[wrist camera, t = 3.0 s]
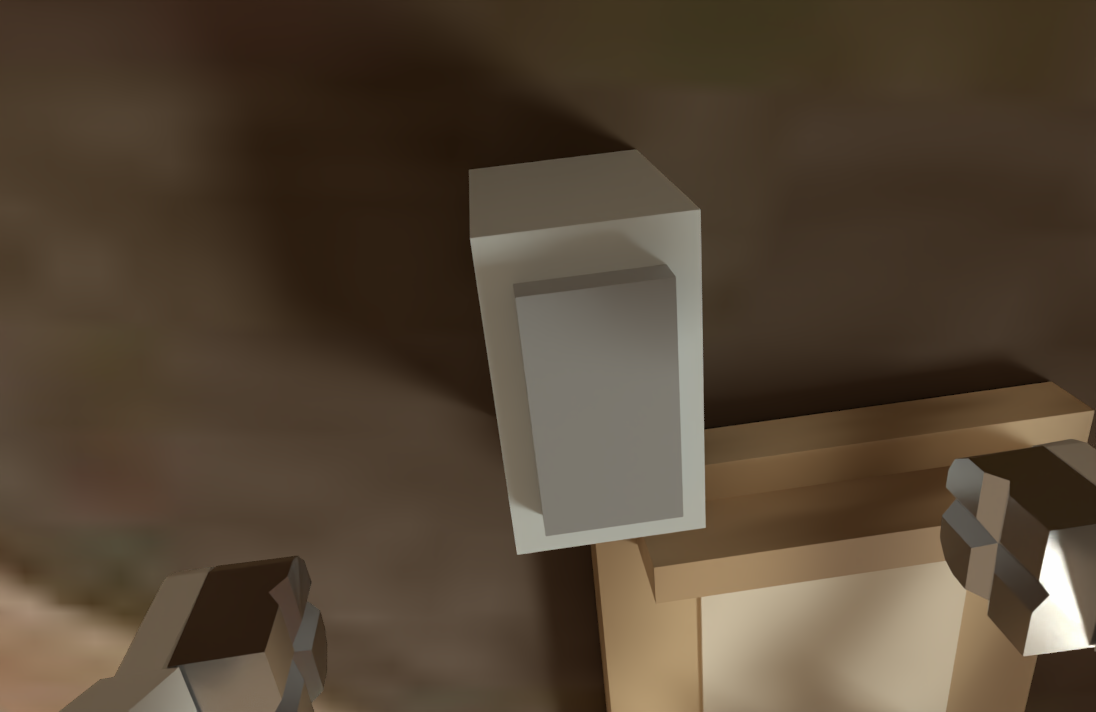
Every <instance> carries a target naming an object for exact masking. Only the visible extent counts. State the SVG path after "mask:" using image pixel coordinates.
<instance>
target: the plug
mask: <svg viewBox="0 0 1096 712" xmlns="http://www.w3.org/2000/svg"><path fill="white" fill-rule="evenodd" d="M469 210H470V242H471V249H472V256H473V262H474V269H475V276H476V282H477V289H478V296H479V302H480V309H481V316H482V323H483V329H484V336H485V343H486V349H487V356H488V363H489V369H490V376H491V383H492V389H493V396H494V403H495V409H496V416H497V423H498V429H499V436H500V443H501V449H502V456H503V463H504V470H505V476H506V483H507V490H508V496H509V503H510V510H511V516H512V523H513V530H514V536H515V543H516V550H517V555H519V554H526V553H533V552H540V551H547V550H554V549H561V548H568V547H575V546H582V545H589V544H596V543H603V542H610V541H617V540H624V539H631V538H638V537H645V536H652V535H659V534H666V533H673V532H680V531H687V530H694V529H701V528H706V515H705V454H704V393H703V331H702V270H701V209H700V208H699V207H698V206H696V205H695V204H694V203H693V202H692V201H691V200H690V199H689V198H688V197H687V196H686V195H685V194H684V193H682V192H681V191H680V190H679V189H678V188H677V187H676V186H675V185H674V184H673V183H672V182H671V181H670V180H669V179H667V178H666V177H665V176H664V175H663V174H662V173H661V172H660V171H659V170H658V169H657V168H656V167H655V166H654V165H652V164H651V163H650V162H649V161H648V160H647V159H646V158H645V157H644V156H643V155H642V154H641V153H640V152H638V151H637V150H636V149H634V150H626V151H618V152H610V153H601V154H593V155H585V156H577V157H569V158H561V159H552V160H544V161H536V162H528V163H520V164H511V165H503V166H495V167H487V168H479V169H471V170H469Z"/></svg>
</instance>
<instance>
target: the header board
mask: <svg viewBox="0 0 1096 712" xmlns="http://www.w3.org/2000/svg"><path fill="white" fill-rule="evenodd" d="M1094 411H1095V410H1093V409H1092V408H1090V407H1089V406H1087V405H1086V404H1084V403H1083V402H1081V401H1080V400H1078V399H1077V398H1075V397H1074V396H1072V395H1071V394H1069V393H1068V392H1066V391H1065V390H1063V389H1062V388H1060V387H1059V386H1057V385H1056V384H1054V383H1053V382H1044V383H1037V384H1030V385H1022V386H1015V387H1008V388H1001V389H994V390H986V391H979V392H972V393H965V394H957V395H950V396H943V397H936V398H929V399H921V400H914V401H907V402H900V403H893V404H885V405H878V406H871V407H864V408H856V409H849V410H842V411H835V412H828V413H820V414H813V415H806V416H799V417H792V418H784V419H777V420H770V421H763V422H756V423H748V424H741V425H734V426H727V427H719V428H712V429H705V430H704V454H705V515H706V528H701V529H694V530H687V531H680V532H673V533H666V534H659V535H652V536H645V537H638V538H631V539H624V540H617V541H610V542H603V543H596V544H591V554H592V565H593V575H594V585H595V596H596V606H597V616H598V626H599V637H600V647H601V657H602V668H603V678H604V688H605V698H606V709H607V712H1024V711H1025V707H1026V703H1027V698H1028V694H1029V690H1030V686H1031V681H1032V677H1033V673H1034V668H1035V664H1036V660H1037V656H1038V655H1031V656H1022V655H1021V654H1020V653H1019V651H1018V650H1017V649H1016V648H1015V647H1014V646H1013V644H1012V643H1011V642H1010V641H1009V640H1008V639H1007V638H1006V636H1005V635H1004V634H1003V633H1002V632H1001V631H1000V629H999V628H998V627H997V626H996V625H995V624H994V623H993V621H992V620H991V619H990V618H989V617H988V616H987V611H988V600H987V599H985V598H982V597H980V596H978V595H976V594H974V593H972V592H970V591H968V590H966V589H964V587H963V586H962V585H961V584H960V583H959V581H958V580H957V579H956V578H955V576H954V575H953V574H952V572H951V570H950V568H949V566H948V564H947V562H946V560H945V558H944V554H943V549H942V545H941V541H940V530H941V519H942V515H943V514H944V513H945V511H946V510H947V509H948V508H949V507H950V505H951V504H952V503H953V502H954V501H955V498H954V497H953V496H952V494H951V493H950V492H949V490H948V489H947V488H946V482H947V476H948V470H949V468H950V467H951V465H952V463H953V461H954V460H955V459H958V458H965V457H971V456H978V455H984V454H991V453H997V452H1004V451H1010V450H1017V449H1024V448H1030V447H1032V446H1034V445H1039V444H1045V443H1051V442H1056V441H1062V440H1067V439H1075V440H1079V441H1082V442H1086V443H1087V441H1088V437H1089V433H1090V428H1091V424H1092V420H1093V415H1094Z"/></svg>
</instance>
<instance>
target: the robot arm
mask: <svg viewBox="0 0 1096 712" xmlns="http://www.w3.org/2000/svg"><path fill="white" fill-rule="evenodd" d="M946 488H947V489H948V490H949V492H950V493H951V494H952V496H953V497H954V498H955V501H954V502H953V503H952V504H951V505H950V507H949V508H948V509H947V510H946V511H945V513H944V514H943V515H942V519H941V530H940V541H941V545H942V549H943V554H944V558H945V560H946V562H947V564H948V566H949V568H950V570H951V572H952V574H953V575H954V576H955V578H956V579H957V580H958V581H959V583H960V584H961V585H962V586H963V587H964V589H966V590H968V591H970V592H972V593H974V594H976V595H978V596H980V597H982V598H985V599H987V600H988V611H987V616H988V617H989V618H990V619H991V620H992V621H993V623H994V624H995V625H996V626H997V627H998V628H999V629H1000V631H1001V632H1002V633H1003V634H1004V635H1005V636H1006V638H1007V639H1008V640H1009V641H1010V642H1011V643H1012V644H1013V646H1014V647H1015V648H1016V649H1017V650H1018V651H1019V653H1020V654H1021V655H1022V656H1031V655H1038V654H1046V653H1053V652H1061V651H1068V650H1076V649H1083V648H1091V647H1095V649H1094V651H1096V449H1095V448H1093V447H1092V446H1090V445H1089V444H1088V443H1086V442H1082V441H1079V440H1075V439H1067V440H1062V441H1056V442H1051V443H1045V444H1039V445H1034V446H1032V447H1030V448H1024V449H1017V450H1010V451H1004V452H997V453H991V454H984V455H978V456H971V457H965V458H958V459H955V460H954V461H953V463H952V465H951V467H950V468H949V470H948V476H947V482H946ZM310 586H311V579H310V576H309V573H308V570H307V567H306V564H305V561H304V560H303V559H302V558H300V557H299V556H291V557H284V558H276V559H268V560H260V561H252V562H244V563H236V564H228V565H220V566H216V567H207V568H200V569H193V570H186V571H179V572H174V573H172V574H171V575H169V576H168V577H166V578H165V579H164V581H163V583H162V585H161V587H160V589H159V591H158V592H157V594H156V596H155V598H154V600H153V602H152V604H151V606H150V608H149V610H148V612H147V614H146V616H145V618H144V620H143V622H142V624H141V625H140V627H139V629H138V631H137V633H136V635H135V637H134V639H133V641H132V643H131V645H130V647H129V649H128V651H127V653H126V655H125V657H124V658H123V660H122V662H121V664H120V666H119V668H118V670H117V672H116V674H115V676H114V677H111V678H105V679H100V680H99V681H97V682H96V683H95V684H94V685H92V686H91V687H90V688H88V689H87V690H86V691H85V692H83V693H82V694H81V695H80V696H78V697H77V698H76V699H75V700H73V701H72V702H71V703H69V704H68V705H67V706H66V707H64V708H63V709H62V710H61V711H59V712H314V710H313V707H312V702H313V701H314V700H315V699H316V698H317V696H318V695H319V694H320V693H321V692H322V691H323V690H324V684H325V679H326V673H327V639H326V633H325V626H324V622H323V619H322V615H321V612H320V610H319V609H317V608H316V607H315V606H313V605H312V604H311V603H309V602H308V601H307V599H308V595H309V591H310Z"/></svg>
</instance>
